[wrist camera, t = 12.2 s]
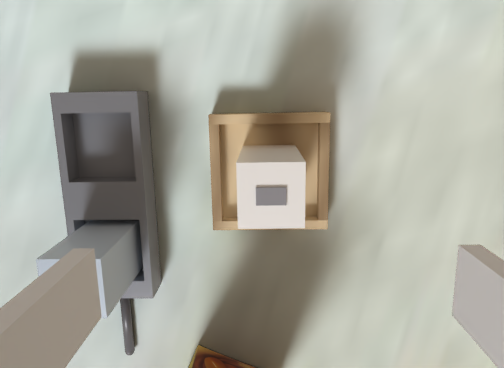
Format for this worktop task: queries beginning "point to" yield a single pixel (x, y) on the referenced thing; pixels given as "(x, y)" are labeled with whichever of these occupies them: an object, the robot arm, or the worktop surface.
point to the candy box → (214, 360)
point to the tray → (269, 133)
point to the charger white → (270, 187)
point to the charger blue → (104, 256)
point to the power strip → (110, 175)
